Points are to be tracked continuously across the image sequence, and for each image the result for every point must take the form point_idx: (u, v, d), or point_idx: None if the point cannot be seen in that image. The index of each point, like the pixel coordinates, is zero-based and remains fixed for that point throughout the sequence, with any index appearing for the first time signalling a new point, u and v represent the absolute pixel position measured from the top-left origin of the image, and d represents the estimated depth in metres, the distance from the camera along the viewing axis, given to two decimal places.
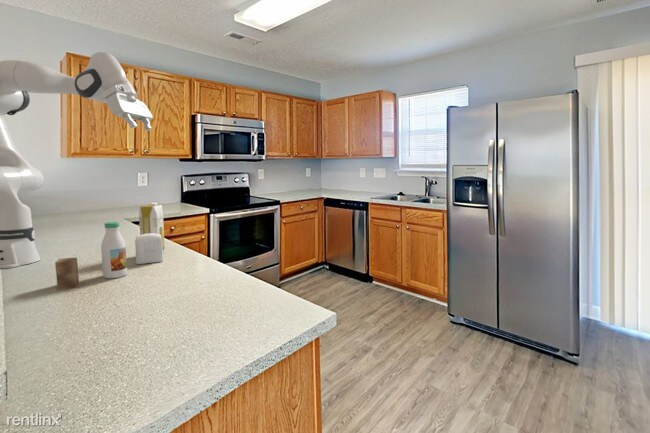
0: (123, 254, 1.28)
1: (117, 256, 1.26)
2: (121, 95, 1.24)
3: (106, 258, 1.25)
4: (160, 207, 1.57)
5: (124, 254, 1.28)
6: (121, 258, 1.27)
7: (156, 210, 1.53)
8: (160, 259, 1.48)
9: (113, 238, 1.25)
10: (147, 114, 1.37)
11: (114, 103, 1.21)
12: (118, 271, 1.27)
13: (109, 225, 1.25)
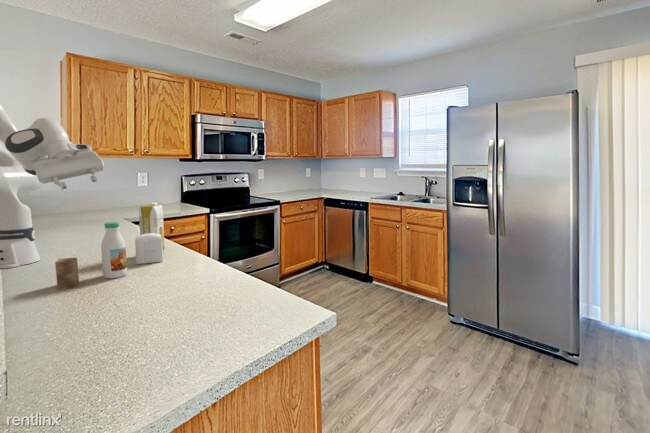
0: (123, 254, 1.28)
1: (117, 256, 1.26)
2: None
3: (106, 258, 1.25)
4: (160, 207, 1.57)
5: (124, 254, 1.28)
6: (121, 258, 1.27)
7: (156, 210, 1.53)
8: (160, 259, 1.48)
9: (113, 238, 1.25)
10: None
11: None
12: (118, 271, 1.27)
13: (109, 225, 1.25)
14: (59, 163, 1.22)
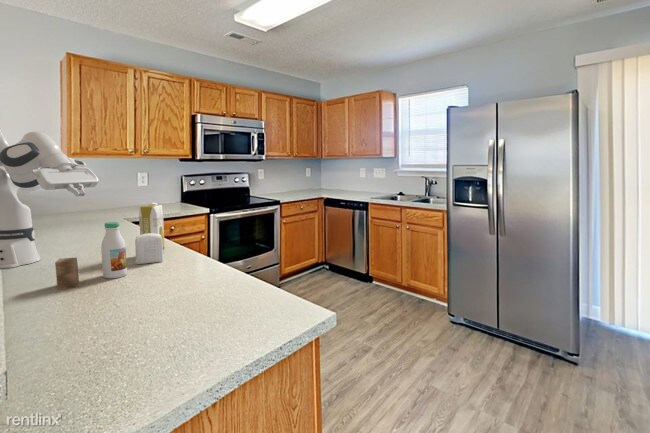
0: (123, 254, 1.28)
1: (118, 256, 1.26)
2: None
3: (106, 258, 1.25)
4: (160, 207, 1.57)
5: (124, 254, 1.28)
6: (121, 258, 1.27)
7: (156, 210, 1.53)
8: (160, 259, 1.48)
9: (113, 238, 1.25)
10: None
11: None
12: (118, 271, 1.27)
13: (109, 225, 1.25)
14: (61, 173, 1.27)
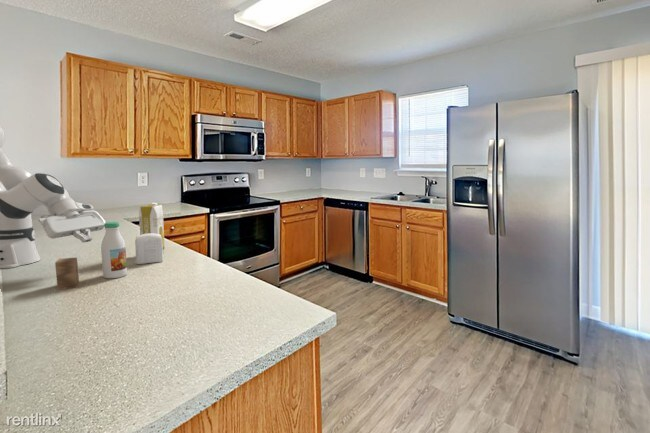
0: (123, 254, 1.28)
1: (117, 256, 1.26)
2: None
3: (106, 258, 1.25)
4: (160, 207, 1.57)
5: (124, 254, 1.28)
6: (121, 258, 1.27)
7: (156, 210, 1.53)
8: (160, 259, 1.48)
9: (113, 238, 1.25)
10: None
11: None
12: (118, 271, 1.27)
13: (109, 225, 1.25)
14: (68, 220, 1.27)
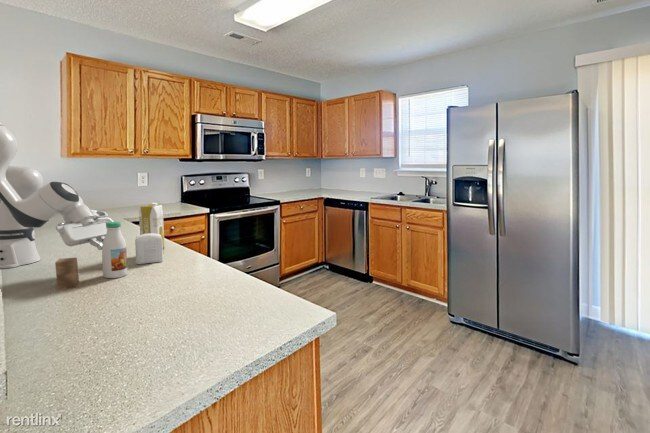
0: (124, 254, 1.28)
1: (118, 256, 1.26)
2: None
3: (107, 258, 1.25)
4: (160, 207, 1.57)
5: (125, 254, 1.28)
6: (122, 258, 1.27)
7: (156, 210, 1.53)
8: (160, 259, 1.48)
9: (114, 238, 1.25)
10: None
11: None
12: (118, 271, 1.27)
13: (110, 225, 1.24)
14: (84, 227, 1.27)
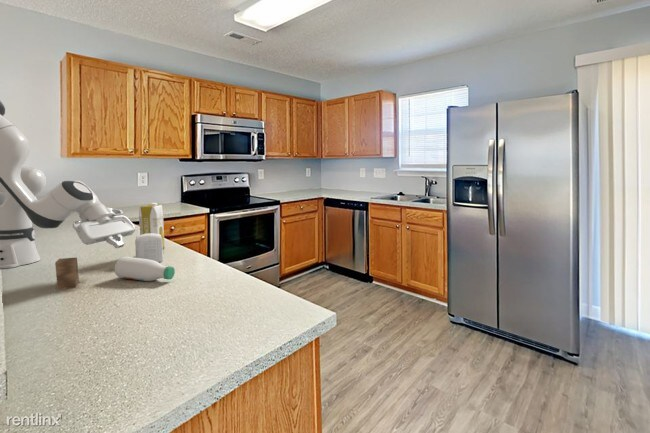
0: None
1: None
2: None
3: (133, 275, 1.23)
4: (160, 207, 1.57)
5: None
6: None
7: (156, 210, 1.53)
8: (160, 259, 1.48)
9: (155, 279, 1.24)
10: None
11: None
12: (125, 277, 1.26)
13: (166, 278, 1.22)
14: (100, 225, 1.25)
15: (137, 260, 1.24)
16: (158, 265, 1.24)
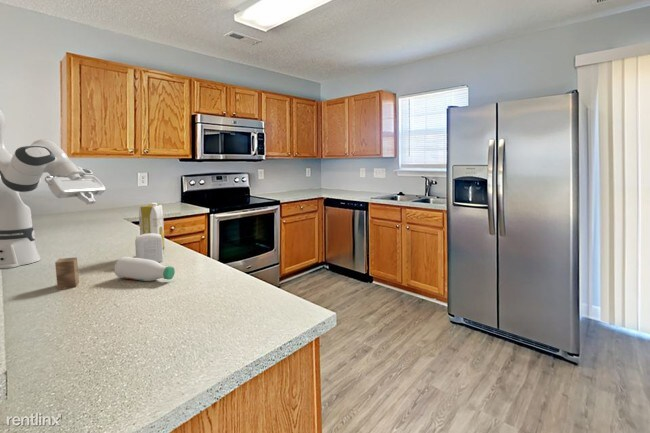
0: None
1: None
2: None
3: (133, 275, 1.23)
4: (160, 207, 1.57)
5: None
6: None
7: (156, 210, 1.53)
8: (160, 259, 1.48)
9: (155, 279, 1.24)
10: None
11: None
12: None
13: (166, 278, 1.22)
14: (72, 182, 1.30)
15: (137, 260, 1.24)
16: (158, 265, 1.24)
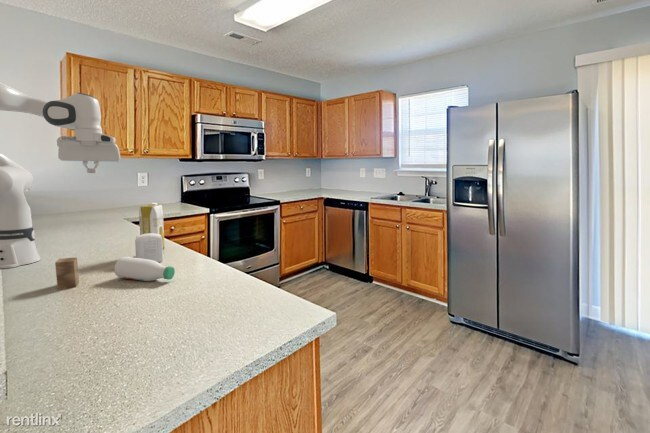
0: None
1: None
2: None
3: (133, 275, 1.23)
4: (160, 207, 1.57)
5: None
6: None
7: (156, 210, 1.53)
8: (160, 259, 1.48)
9: (155, 279, 1.24)
10: None
11: (119, 152, 1.41)
12: None
13: (166, 278, 1.22)
14: (81, 148, 1.34)
15: (137, 260, 1.24)
16: (158, 265, 1.24)
